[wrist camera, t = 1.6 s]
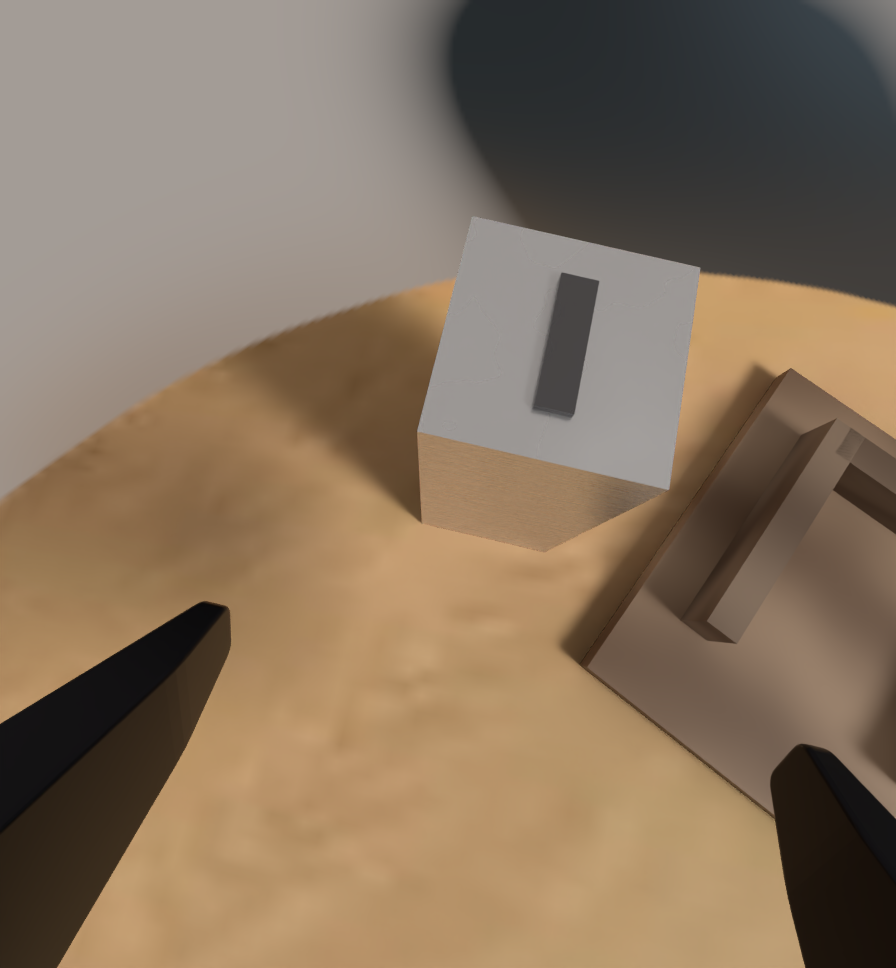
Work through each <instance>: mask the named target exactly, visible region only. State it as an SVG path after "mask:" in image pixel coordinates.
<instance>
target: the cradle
mask: <svg viewBox="0 0 896 968" xmlns="http://www.w3.org/2000/svg"><path fill="white" fill-rule="evenodd" d="M580 665H581V666H582V667H583V668H584V669H586V670H587V671H588V672H589V673H591V674H592V675H593V676H594V677H596V678H597V679H598V680H600V681H601V682H602V683H603V684H605V685H606V686H607V687H608V688H610V689H611V690H612V691H613V692H615V693H616V694H617V695H619V696H620V697H621V698H622V699H624V700H625V701H626V702H627V703H629V704H630V705H631V706H632V707H634V708H635V709H636V710H638V711H639V712H640V713H641V714H643V715H644V716H645V717H646V718H648V719H649V720H650V721H651V722H653V723H654V724H655V725H657V726H658V727H659V728H660V729H662V730H663V731H664V732H665V733H667V734H668V735H669V736H670V737H672V738H673V739H674V740H676V741H677V742H678V743H679V744H681V745H682V746H683V747H684V748H686V749H687V750H688V751H689V752H691V753H692V754H693V755H694V756H696V757H697V758H698V759H700V760H701V761H702V762H703V763H705V764H706V765H707V766H708V767H710V768H711V769H712V770H713V771H715V772H716V773H717V774H719V775H720V776H721V777H722V778H724V779H725V780H726V781H727V782H729V783H730V784H731V785H732V786H734V787H735V788H736V789H738V790H739V791H740V792H741V793H743V794H744V795H745V796H746V797H748V798H749V799H750V800H751V801H753V802H754V803H755V804H757V805H758V806H759V807H760V808H762V809H763V810H764V811H765V812H767V813H768V814H769V815H770V816H772V817H773V818H774V819H775V816H774V810H773V803H772V797H771V790H770V778H771V774H772V772H773V770H774V769H775V768H776V767H777V765H778V764H779V763H780V762H781V761H782V760H783V759H784V758H785V757H786V755H787V754H788V753H789V752H790V751H791V750H792V749H793V748H794V747H795V746H796V745H798V744H801V743H802V744H808V745H813V746H817V747H821V748H824V749H827V750H829V751H830V752H832V753H833V754H834V755H835V756H836V757H837V758H838V759H839V760H840V761H841V762H842V763H843V764H844V765H845V766H846V767H847V768H848V769H849V770H850V771H851V772H852V773H853V774H854V776H855V777H856V778H857V779H858V780H859V781H860V782H861V783H862V784H863V785H864V786H865V787H866V788H867V789H868V790H869V791H870V792H871V793H872V794H873V795H874V796H875V797H876V798H877V800H878V801H879V802H880V803H881V804H882V805H883V806H884V807H885V808H886V809H887V810H888V811H889V812H890V813H891V814H892V815H893V816H894V817H895V818H896V439H894V438H893V437H891V436H890V435H888V434H887V433H885V432H884V431H882V430H881V429H879V428H878V427H877V426H875V425H874V424H872V423H871V422H869V421H868V420H866V419H865V418H863V417H862V416H860V415H859V414H858V413H856V412H855V411H853V410H852V409H850V408H849V407H847V406H846V405H844V404H843V403H841V402H840V401H838V400H837V399H836V398H834V397H833V396H831V395H830V394H828V393H827V392H825V391H824V390H822V389H821V388H819V387H818V386H816V385H815V384H814V383H812V382H811V381H809V380H808V379H806V378H805V377H803V376H802V375H800V374H799V373H797V372H796V371H794V370H793V369H792V368H790V369H789V370H787V371H786V372H784V373H783V374H781V375H780V376H778V377H777V378H776V379H775V380H774V382H773V383H772V385H771V386H770V387H769V389H768V390H767V392H766V393H765V395H764V396H763V398H762V399H761V401H760V402H759V404H758V405H757V406H756V408H755V409H754V411H753V412H752V414H751V415H750V417H749V418H748V420H747V421H746V423H745V424H744V425H743V427H742V428H741V430H740V431H739V433H738V434H737V436H736V437H735V439H734V440H733V442H732V443H731V444H730V446H729V447H728V449H727V450H726V452H725V453H724V455H723V456H722V458H721V459H720V460H719V462H718V463H717V465H716V466H715V468H714V469H713V471H712V472H711V474H710V475H709V477H708V478H707V479H706V481H705V482H704V484H703V485H702V487H701V488H700V490H699V491H698V493H697V494H696V496H695V497H694V498H693V500H692V501H691V503H690V504H689V506H688V507H687V509H686V510H685V512H684V513H683V515H682V516H681V517H680V519H679V520H678V522H677V523H676V525H675V526H674V528H673V529H672V531H671V532H670V533H669V535H668V536H667V538H666V539H665V541H664V542H663V544H662V545H661V547H660V548H659V550H658V551H657V552H656V554H655V555H654V557H653V558H652V560H651V561H650V563H649V564H648V566H647V567H646V569H645V570H644V571H643V573H642V574H641V576H640V577H639V579H638V580H637V582H636V583H635V585H634V586H633V588H632V589H631V590H630V592H629V593H628V595H627V596H626V598H625V599H624V601H623V602H622V604H621V605H620V607H619V608H618V609H617V611H616V612H615V614H614V615H613V617H612V618H611V620H610V621H609V623H608V624H607V625H606V627H605V628H604V630H603V631H602V633H601V634H600V636H599V637H598V639H597V640H596V642H595V643H594V644H593V646H592V647H591V649H590V650H589V652H588V653H587V655H586V656H585V658H584V659H583V661H582V662H581V663H580Z"/></svg>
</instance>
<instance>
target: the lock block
mask: <svg viewBox="0 0 896 968" xmlns="http://www.w3.org/2000/svg"><path fill="white" fill-rule="evenodd" d="M699 274H700V268H699V267H695V266H691V265H686V264H681V263H677V262H673V261H668V260H664V259H660V258H655V257H651V256H646V255H642V254H638V253H633V252H629V251H624V250H620V249H615V248H611V247H607V246H602V245H598V244H593V243H589V242H584V241H580V240H575V239H571V238H567V237H562V236H558V235H554V234H549V233H545V232H540V231H536V230H531V229H527V228H523V227H518V226H514V225H509V224H504V223H501V222H496V221H492V220H487V219H483V218H478V217H474V216H472V219H471V223H470V227H469V231H468V235H467V239H466V243H465V247H464V251H463V255H462V259H461V262H460V266H459V270H458V274H457V278H456V282H455V286H454V289H453V293H452V297H451V301H450V305H449V309H448V313H447V317H446V321H445V325H444V328H443V332H442V336H441V340H440V344H439V348H438V352H437V356H436V360H435V363H434V367H433V371H432V375H431V379H430V383H429V387H428V391H427V395H426V399H425V402H424V406H423V410H422V414H421V418H420V422H419V426H418V430H417V440H418V459H419V478H420V498H421V517H422V524H426V525H431V526H435V527H439V528H443V529H448V530H452V531H456V532H460V533H465V534H469V535H473V536H477V537H482V538H486V539H490V540H495V541H499V542H503V543H507V544H512V545H516V546H520V547H524V548H529V549H533V550H537V551H541V552H546V551H548V550H550V549H552V548H554V547H556V546H558V545H560V544H562V543H564V542H566V541H568V540H570V539H572V538H574V537H576V536H578V535H580V534H582V533H584V532H586V531H588V530H590V529H592V528H594V527H596V526H598V525H600V524H602V523H604V522H606V521H608V520H610V519H612V518H614V517H616V516H618V515H620V514H622V513H624V512H626V511H628V510H630V509H632V508H634V507H636V506H638V505H640V504H642V503H644V502H646V501H648V500H650V499H652V498H654V497H656V496H658V495H660V494H662V493H664V492H666V491H668V490H669V487H670V480H671V473H672V466H673V458H674V451H675V444H676V437H677V430H678V423H679V416H680V409H681V402H682V394H683V387H684V380H685V373H686V366H687V359H688V352H689V345H690V338H691V330H692V323H693V316H694V309H695V302H696V295H697V288H698V281H699Z"/></svg>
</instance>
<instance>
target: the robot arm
mask: <svg viewBox="0 0 896 968" xmlns="http://www.w3.org/2000/svg"><path fill="white" fill-rule="evenodd" d="M230 646H231V625H230V610H229V608H228V607H227V606H225V605H220V604H216V603H212V602H207V601H203V602H200V603H198V604H196V605H194V606H193V607H191V608H189V609H188V610H186V611H184V612H183V613H181V614H179V615H178V616H176V617H175V618H173V619H171V620H170V621H168V622H166V623H165V624H163V625H161V626H160V627H158V628H157V629H155V630H153V631H152V632H150V633H148V634H147V635H145V636H143V637H142V638H140V639H138V640H137V641H135V642H134V643H132V644H130V645H129V646H127V647H125V648H124V649H122V650H120V651H119V652H117V653H116V654H114V655H112V656H111V657H109V658H107V659H106V660H104V661H102V662H101V663H99V664H98V665H96V666H94V667H93V668H91V669H89V670H88V671H86V672H84V673H83V674H81V675H79V676H78V677H76V678H75V679H73V680H71V681H70V682H68V683H66V684H65V685H63V686H61V687H60V688H58V689H57V690H55V691H53V692H52V693H50V694H48V695H47V696H45V697H43V698H42V699H40V700H39V701H37V702H35V703H34V704H32V705H30V706H29V707H27V708H25V709H24V710H22V711H20V712H19V713H17V714H16V715H14V716H12V717H11V718H9V719H7V720H6V721H4V722H2V723H1V724H0V968H57V967H58V965H59V963H60V962H61V960H62V958H63V957H64V955H65V953H66V951H67V950H68V948H69V946H70V945H71V943H72V941H73V939H74V938H75V936H76V934H77V933H78V931H79V929H80V928H81V926H82V924H83V922H84V921H85V919H86V917H87V916H88V914H89V912H90V911H91V909H92V907H93V905H94V904H95V902H96V900H97V899H98V897H99V895H100V894H101V892H102V890H103V888H104V887H105V885H106V883H107V882H108V880H109V878H110V877H111V875H112V873H113V871H114V870H115V868H116V866H117V865H118V863H119V861H120V859H121V858H122V856H123V854H124V853H125V851H126V849H127V848H128V846H129V844H130V842H131V841H132V839H133V837H134V836H135V834H136V832H137V831H138V829H139V827H140V825H141V824H142V822H143V820H144V819H145V817H146V815H147V814H148V812H149V810H150V808H151V807H152V805H153V803H154V802H155V800H156V798H157V796H158V795H159V793H160V791H161V790H162V788H163V786H164V785H165V783H166V781H167V779H168V778H169V776H170V774H171V773H172V771H173V769H174V768H175V766H176V764H177V762H178V761H179V759H180V757H181V755H182V753H183V751H184V750H185V748H186V746H187V744H188V741H189V739H190V737H191V735H192V733H193V731H194V729H195V727H196V724H197V722H198V720H199V718H200V716H201V713H202V711H203V709H204V707H205V705H206V702H207V700H208V698H209V696H210V694H211V691H212V689H213V687H214V685H215V683H216V680H217V678H218V676H219V674H220V672H221V669H222V667H223V665H224V663H225V661H226V658H227V656H228V653H229V650H230ZM770 790H771V797H772V803H773V810H774V816H775V823H776V829H777V835H778V842H779V848H780V855H781V861H782V867H783V874H784V880H785V885H786V890H787V895H788V900H789V904H790V909H791V913H792V917H793V921H794V925H795V929H796V933H797V937H798V941H799V945H800V949H801V953H802V957H803V961H804V964H805V968H896V818H895V817H894V816H893V815H892V814H891V813H890V812H889V811H888V810H887V809H886V808H885V807H884V806H883V805H882V804H881V803H880V802H879V801H878V800H877V798H876V797H875V796H874V795H873V794H872V793H871V792H870V791H869V790H868V789H867V788H866V787H865V786H864V785H863V784H862V783H861V782H860V781H859V780H858V779H857V778H856V777H855V776H854V774H853V773H852V772H851V771H850V770H849V769H848V768H847V767H846V766H845V765H844V764H843V763H842V762H841V761H840V760H839V759H838V758H837V757H836V756H835V755H834V754H833V753H832V752H830V751H829V750H827V749H824V748H821V747H817V746H813V745H808V744H802V743H801V744H798V745H796V746H795V747H794V748H793V749H792V750H791V751H790V752H789V753H788V754H787V755H786V757H785V758H784V759H783V760H782V761H781V762H780V763H779V764H778V765H777V767H776V768H775V769H774V770H773V772H772V774H771V778H770Z"/></svg>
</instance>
